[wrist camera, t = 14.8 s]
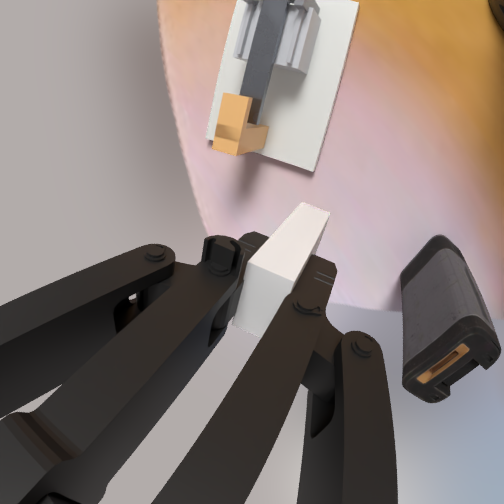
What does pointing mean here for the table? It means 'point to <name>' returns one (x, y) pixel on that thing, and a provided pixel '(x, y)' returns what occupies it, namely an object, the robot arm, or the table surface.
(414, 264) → the electronic device
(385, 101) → the table surface
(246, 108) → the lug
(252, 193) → the table surface
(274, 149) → the board
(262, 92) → the strap
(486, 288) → the table surface
